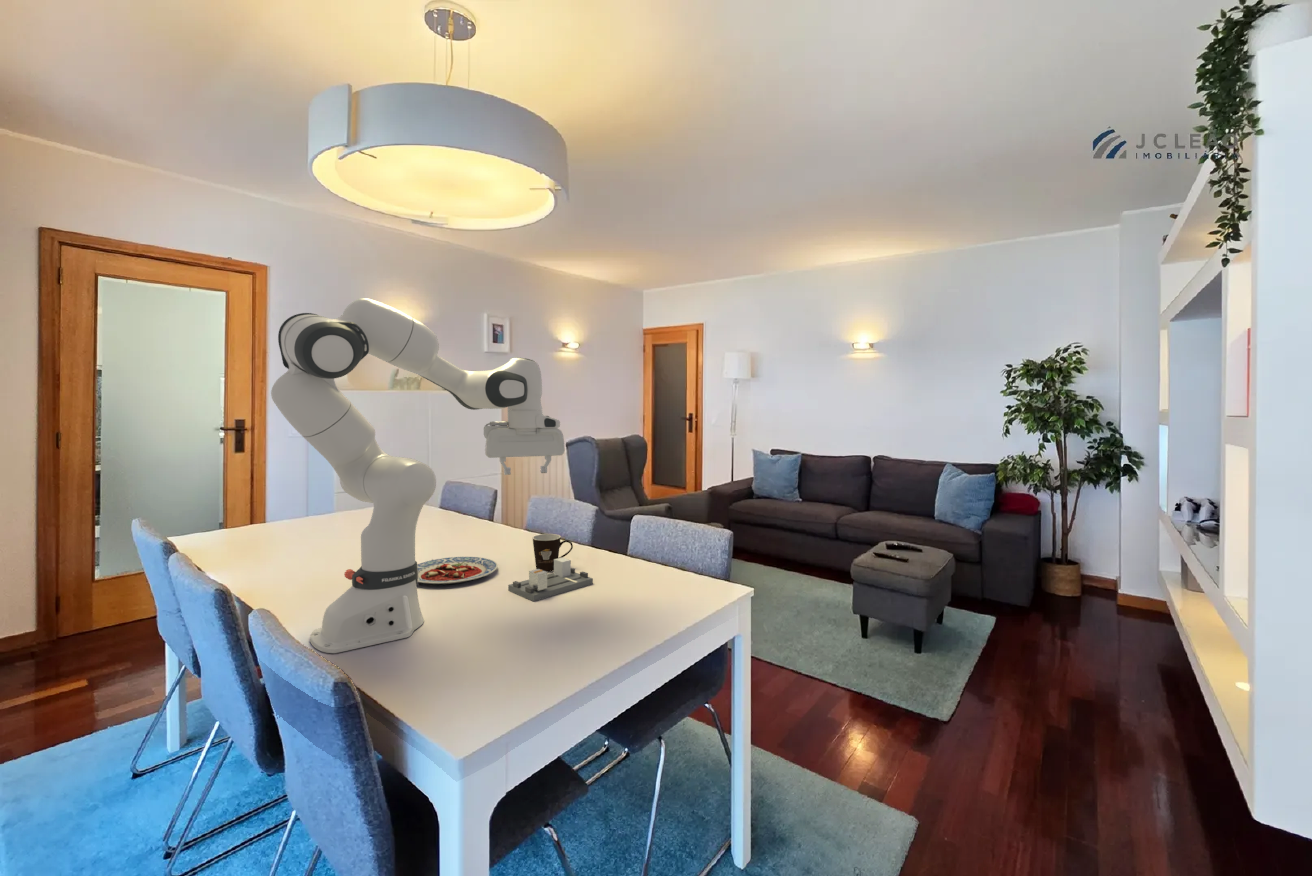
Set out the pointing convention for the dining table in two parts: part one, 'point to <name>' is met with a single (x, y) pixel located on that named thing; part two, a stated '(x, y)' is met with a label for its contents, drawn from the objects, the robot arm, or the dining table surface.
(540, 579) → the block
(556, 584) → the grey slider board
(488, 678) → the dining table surface
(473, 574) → the ceramic plate
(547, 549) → the coffee mug
